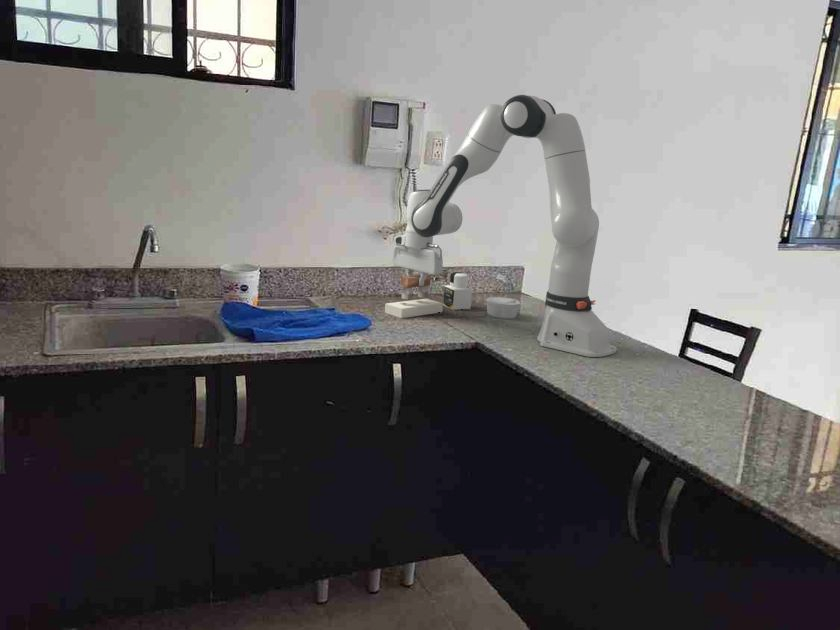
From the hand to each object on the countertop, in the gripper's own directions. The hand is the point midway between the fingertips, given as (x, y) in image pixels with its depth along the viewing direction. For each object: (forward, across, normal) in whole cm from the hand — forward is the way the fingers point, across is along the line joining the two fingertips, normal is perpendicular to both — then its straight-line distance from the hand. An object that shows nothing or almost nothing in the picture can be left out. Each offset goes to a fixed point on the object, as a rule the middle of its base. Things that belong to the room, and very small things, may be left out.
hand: (415, 284), depth 214 cm
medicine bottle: (+10, -1, -19) cm, 21 cm away
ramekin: (+10, -17, -24) cm, 31 cm away
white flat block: (+9, 0, 0) cm, 9 cm away
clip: (+5, 0, 0) cm, 5 cm away
